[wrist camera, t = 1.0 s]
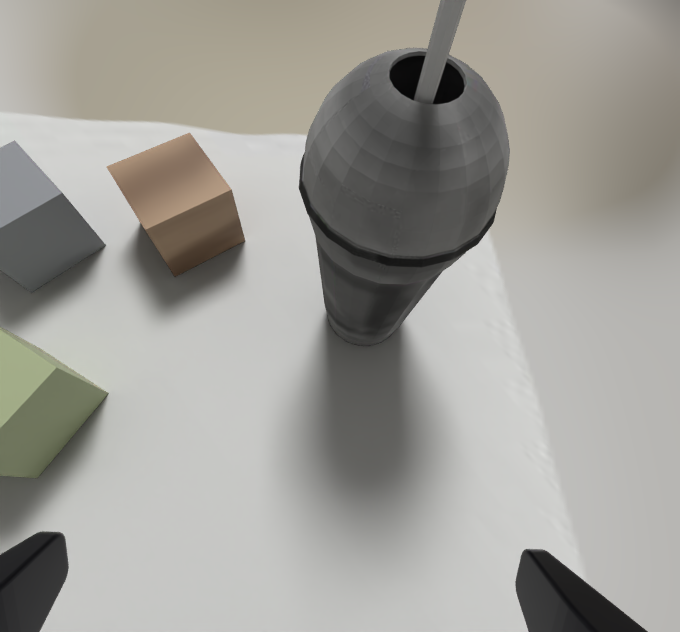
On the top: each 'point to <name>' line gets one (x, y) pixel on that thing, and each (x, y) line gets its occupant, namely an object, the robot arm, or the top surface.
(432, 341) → the top surface
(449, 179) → the beverage cup
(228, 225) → the walnut block
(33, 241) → the charcoal block
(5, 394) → the olive block
